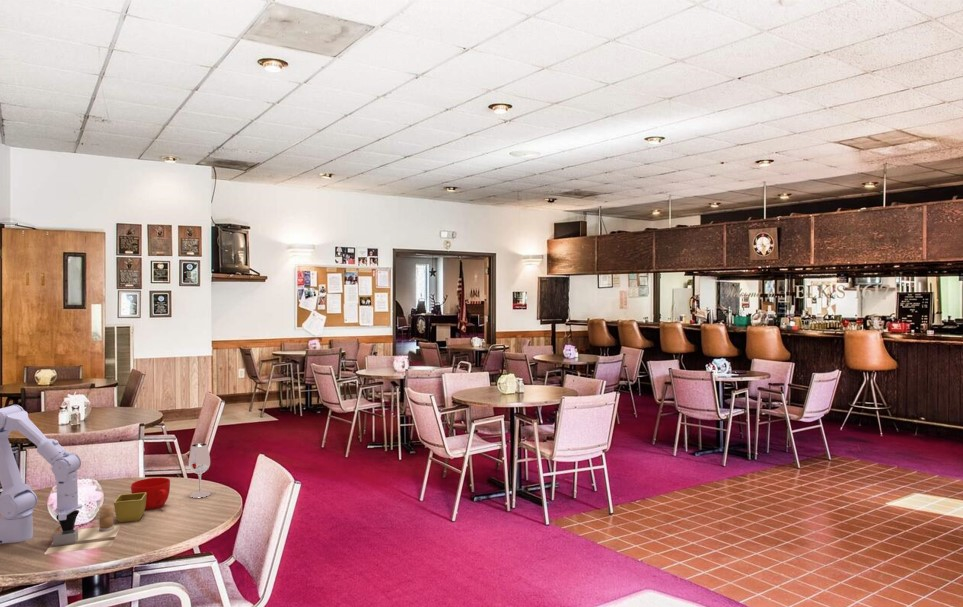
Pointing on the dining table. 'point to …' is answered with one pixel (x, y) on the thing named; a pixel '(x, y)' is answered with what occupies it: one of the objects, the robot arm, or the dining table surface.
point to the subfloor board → (87, 540)
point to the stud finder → (65, 537)
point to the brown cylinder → (106, 518)
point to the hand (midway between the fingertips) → (68, 535)
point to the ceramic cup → (153, 491)
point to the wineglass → (199, 464)
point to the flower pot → (130, 506)
